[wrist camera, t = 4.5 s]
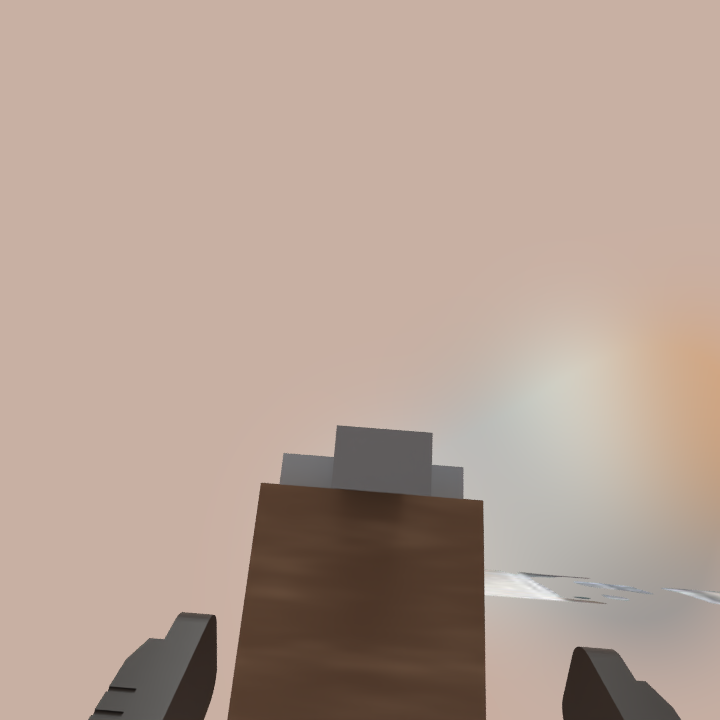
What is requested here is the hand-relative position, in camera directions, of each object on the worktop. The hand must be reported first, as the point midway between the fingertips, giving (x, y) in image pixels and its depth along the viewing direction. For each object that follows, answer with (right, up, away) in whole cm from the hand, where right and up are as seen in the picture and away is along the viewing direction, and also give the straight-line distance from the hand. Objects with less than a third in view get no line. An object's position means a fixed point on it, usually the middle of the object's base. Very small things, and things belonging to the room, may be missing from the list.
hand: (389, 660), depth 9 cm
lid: (0, -2, +18) cm, 18 cm away
